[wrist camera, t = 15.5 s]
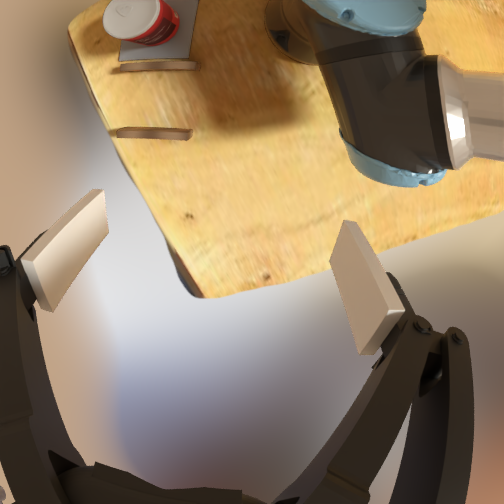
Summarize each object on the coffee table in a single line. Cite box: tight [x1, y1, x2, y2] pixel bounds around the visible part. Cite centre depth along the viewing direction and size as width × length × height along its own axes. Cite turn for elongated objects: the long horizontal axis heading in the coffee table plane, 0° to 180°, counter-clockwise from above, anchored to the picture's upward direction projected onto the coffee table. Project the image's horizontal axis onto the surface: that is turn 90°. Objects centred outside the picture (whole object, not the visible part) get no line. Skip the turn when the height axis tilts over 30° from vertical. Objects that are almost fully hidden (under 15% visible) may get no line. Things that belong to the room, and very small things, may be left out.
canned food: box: [103, 0, 180, 46], centre depth 25 cm, size 8×8×11 cm
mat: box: [119, 0, 199, 61], centre depth 29 cm, size 12×12×1 cm
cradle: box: [117, 61, 201, 141], centre depth 36 cm, size 12×12×4 cm
